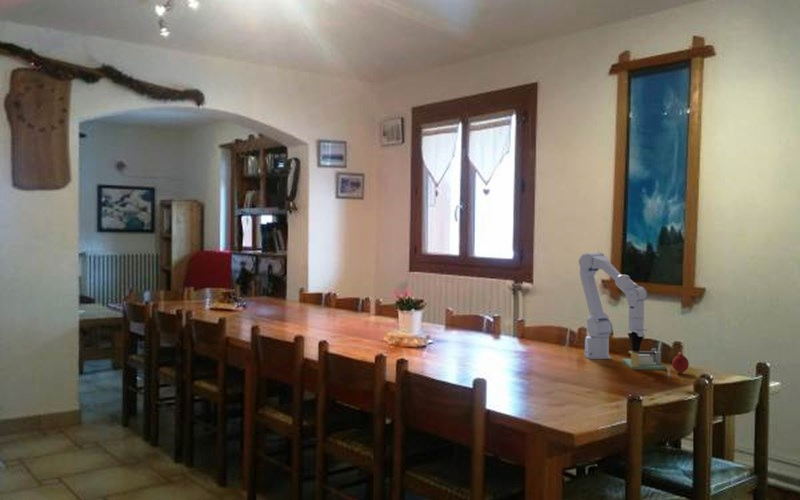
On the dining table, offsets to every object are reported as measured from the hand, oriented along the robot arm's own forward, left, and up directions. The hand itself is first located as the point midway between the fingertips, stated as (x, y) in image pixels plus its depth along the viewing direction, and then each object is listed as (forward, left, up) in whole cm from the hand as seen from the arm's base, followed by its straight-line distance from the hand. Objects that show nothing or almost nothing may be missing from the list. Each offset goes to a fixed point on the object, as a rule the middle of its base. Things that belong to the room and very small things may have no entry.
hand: (635, 351), depth 269 cm
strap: (+3, 0, -1) cm, 3 cm away
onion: (+13, -13, -6) cm, 19 cm away
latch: (-2, -5, -5) cm, 7 cm away
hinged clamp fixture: (+3, 0, -6) cm, 6 cm away
